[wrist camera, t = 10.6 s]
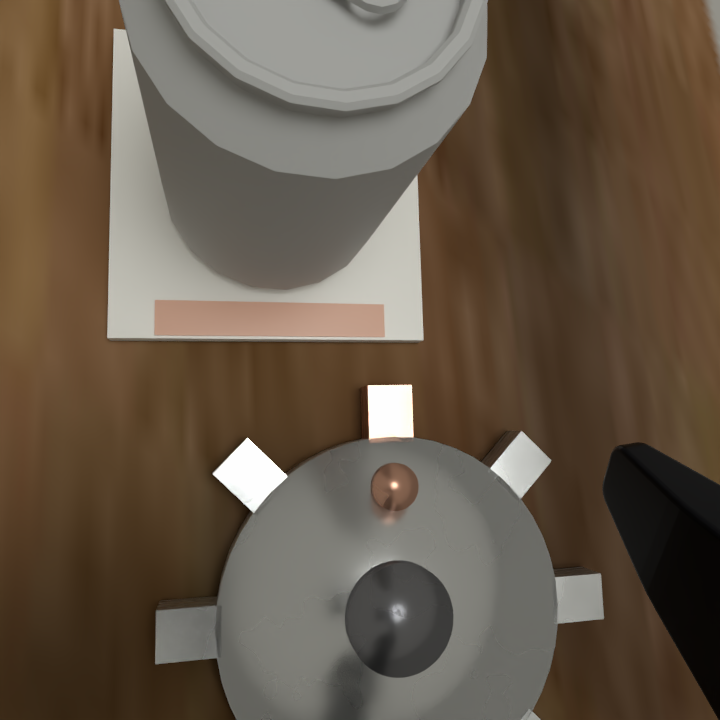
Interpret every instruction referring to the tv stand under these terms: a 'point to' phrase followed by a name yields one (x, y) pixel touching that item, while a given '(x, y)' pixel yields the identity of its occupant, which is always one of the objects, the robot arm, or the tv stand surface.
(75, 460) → the tv stand surface
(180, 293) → the pad
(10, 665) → the tv stand surface
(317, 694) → the sprocket
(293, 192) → the can
